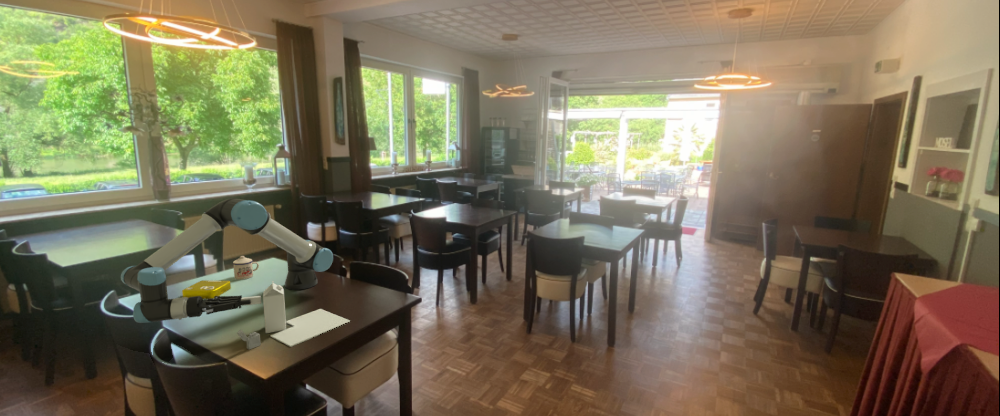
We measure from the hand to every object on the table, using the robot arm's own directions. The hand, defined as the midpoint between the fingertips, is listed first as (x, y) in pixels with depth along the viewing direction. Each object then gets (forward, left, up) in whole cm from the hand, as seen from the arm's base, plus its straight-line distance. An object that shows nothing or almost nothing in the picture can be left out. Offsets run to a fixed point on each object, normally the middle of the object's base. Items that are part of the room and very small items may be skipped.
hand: (260, 299), depth 162 cm
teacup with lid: (-28, -71, -13) cm, 77 cm away
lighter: (+10, +10, -13) cm, 20 cm away
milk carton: (-4, +2, -13) cm, 14 cm away
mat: (-12, +11, -13) cm, 21 cm away
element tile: (-5, -61, -14) cm, 62 cm away
